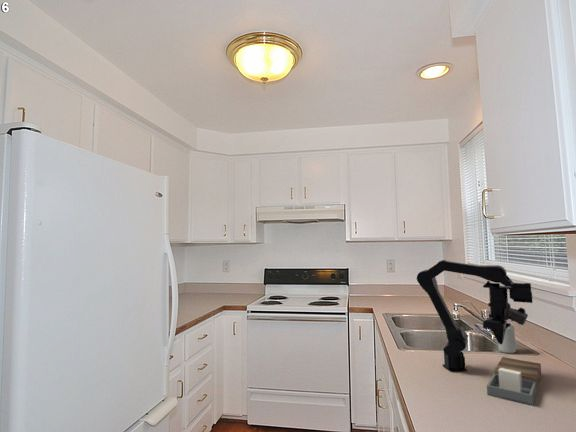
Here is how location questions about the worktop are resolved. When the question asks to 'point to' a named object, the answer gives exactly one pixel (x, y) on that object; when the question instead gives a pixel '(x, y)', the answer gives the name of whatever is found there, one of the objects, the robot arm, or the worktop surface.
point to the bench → (521, 369)
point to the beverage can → (508, 341)
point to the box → (521, 397)
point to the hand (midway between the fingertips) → (500, 343)
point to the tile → (510, 379)
